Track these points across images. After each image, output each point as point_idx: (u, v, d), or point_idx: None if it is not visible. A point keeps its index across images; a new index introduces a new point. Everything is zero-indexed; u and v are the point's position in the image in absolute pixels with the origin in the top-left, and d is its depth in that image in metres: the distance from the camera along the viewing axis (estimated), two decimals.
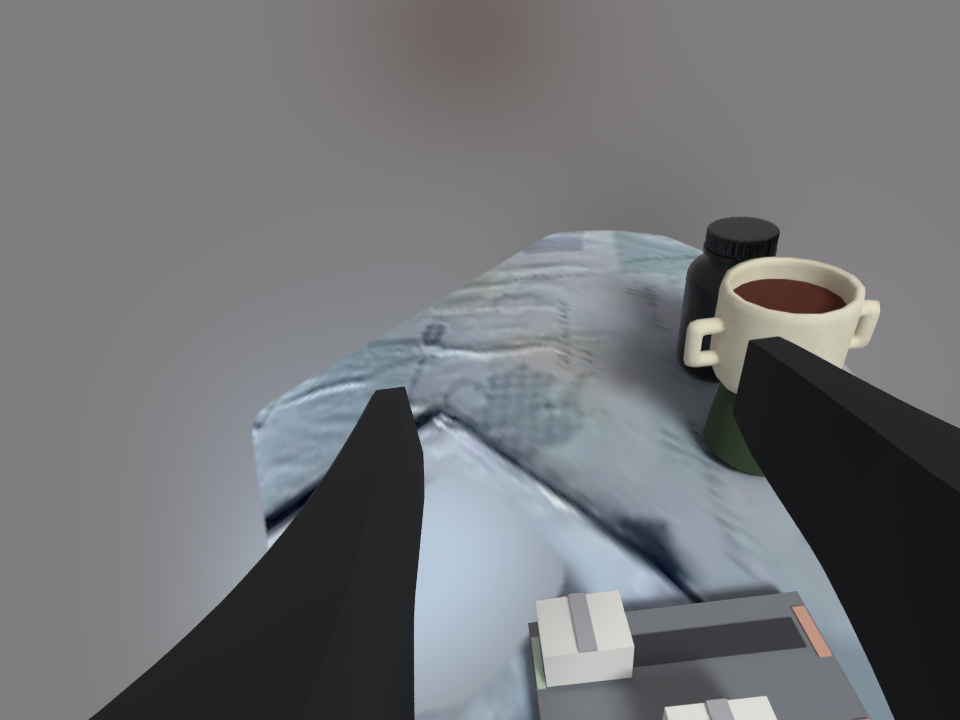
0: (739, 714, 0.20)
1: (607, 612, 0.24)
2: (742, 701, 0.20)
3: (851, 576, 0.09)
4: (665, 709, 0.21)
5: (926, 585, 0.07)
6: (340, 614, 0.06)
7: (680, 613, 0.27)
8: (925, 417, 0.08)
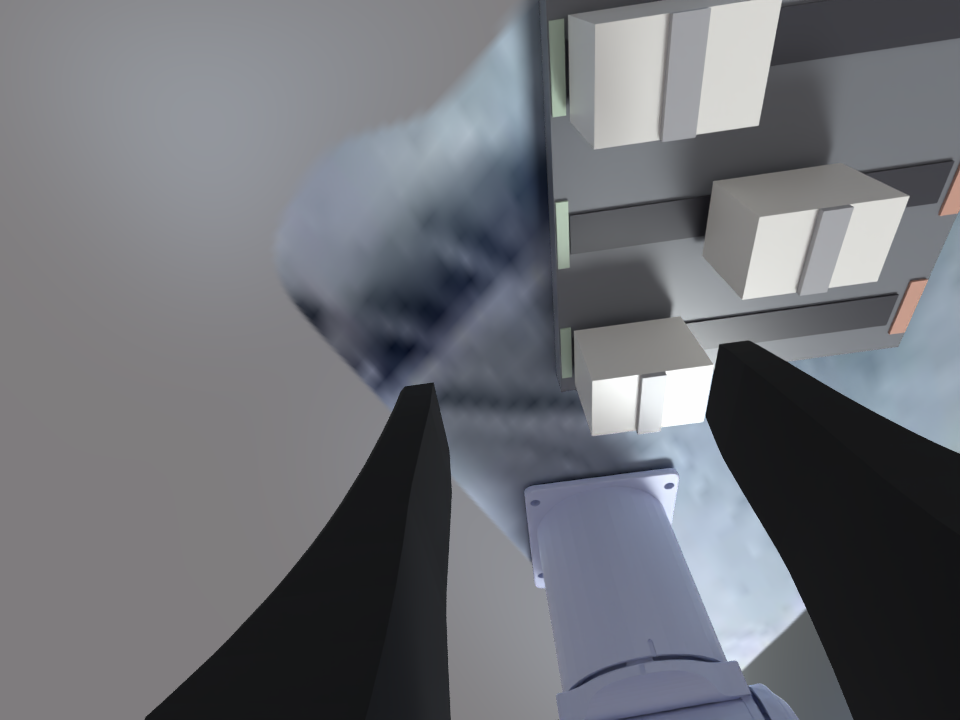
0: (854, 221, 0.14)
1: (738, 54, 0.12)
2: (871, 204, 0.14)
3: (814, 580, 0.09)
4: (758, 218, 0.14)
5: (881, 590, 0.07)
6: (392, 608, 0.06)
7: None
8: (884, 422, 0.08)
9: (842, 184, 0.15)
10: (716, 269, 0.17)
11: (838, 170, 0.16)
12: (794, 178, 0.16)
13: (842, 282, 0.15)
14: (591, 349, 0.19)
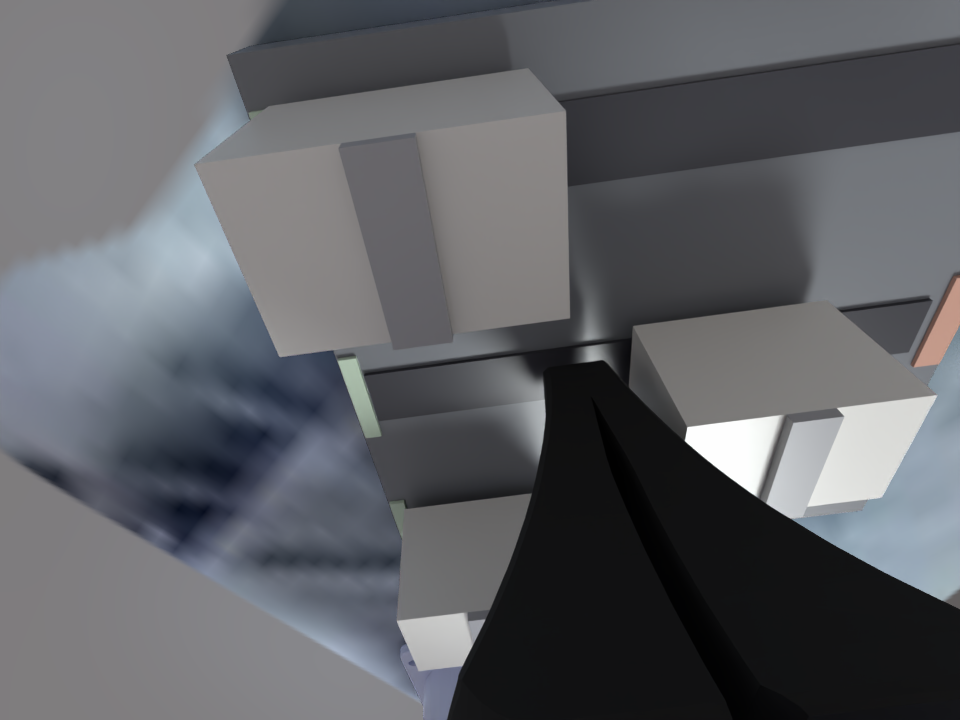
0: (846, 428, 0.09)
1: (502, 211, 0.06)
2: (873, 407, 0.08)
3: None
4: (686, 426, 0.09)
5: None
6: (656, 575, 0.06)
7: (741, 12, 0.08)
8: (683, 448, 0.08)
9: (827, 353, 0.09)
10: None
11: (822, 316, 0.10)
12: (754, 331, 0.10)
13: (826, 500, 0.10)
14: (415, 550, 0.13)
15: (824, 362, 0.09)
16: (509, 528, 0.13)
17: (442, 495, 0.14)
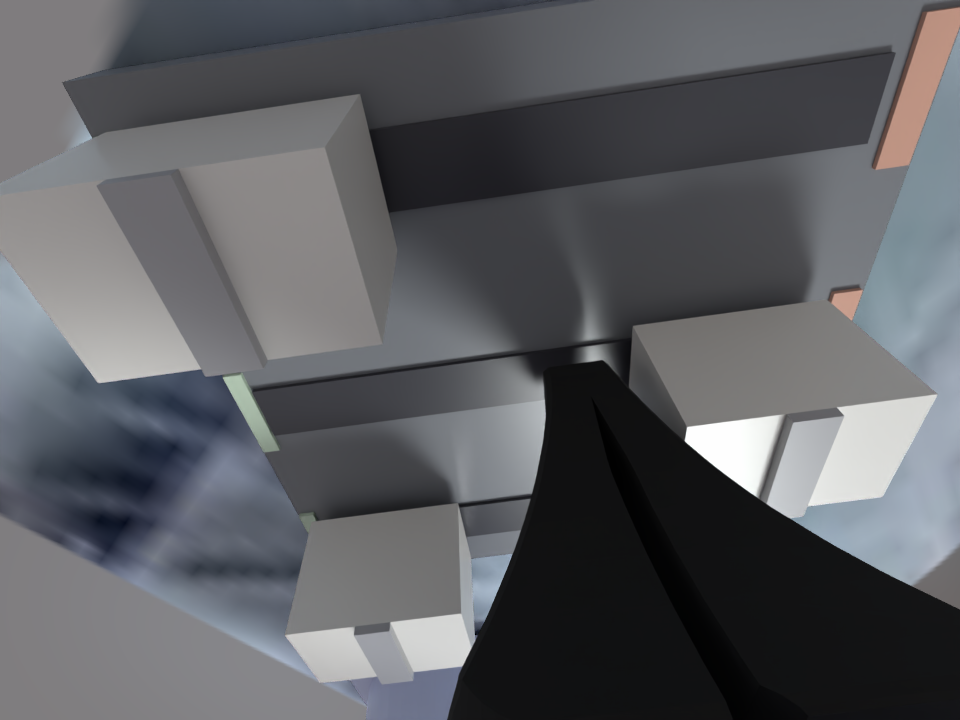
0: (846, 427, 0.09)
1: (286, 243, 0.06)
2: (873, 407, 0.08)
3: None
4: (686, 426, 0.09)
5: None
6: (656, 575, 0.06)
7: (572, 37, 0.08)
8: (683, 448, 0.08)
9: (827, 352, 0.09)
10: None
11: (822, 316, 0.10)
12: (754, 331, 0.10)
13: (826, 500, 0.10)
14: (315, 563, 0.13)
15: (824, 361, 0.09)
16: (409, 541, 0.13)
17: (351, 507, 0.14)
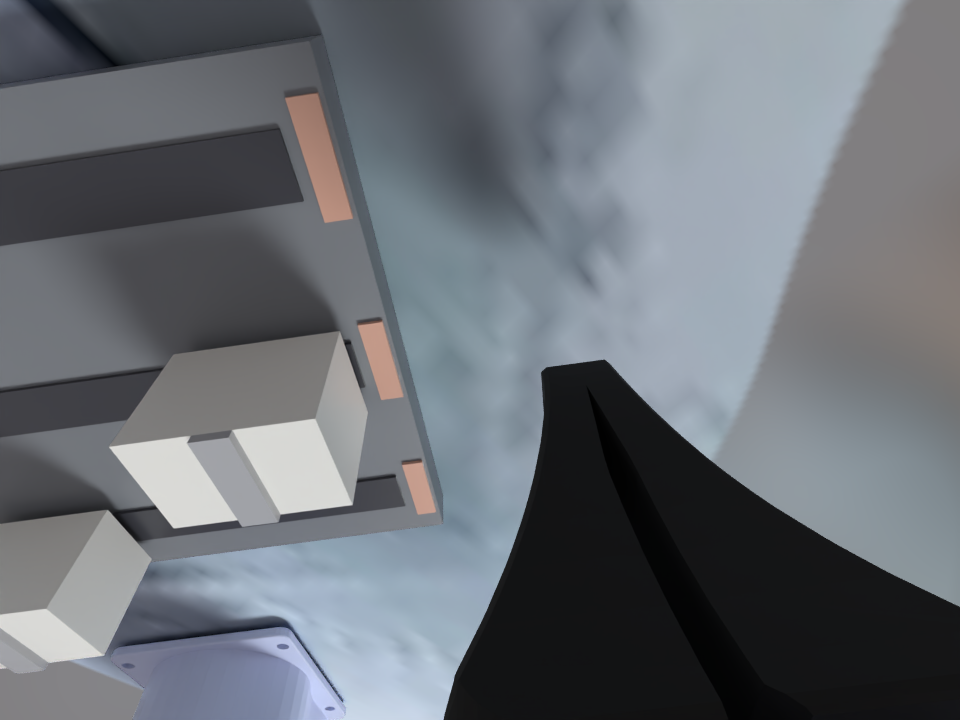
0: (258, 446, 0.10)
1: None
2: (266, 429, 0.10)
3: None
4: (113, 446, 0.10)
5: None
6: (653, 576, 0.06)
7: None
8: (685, 448, 0.08)
9: (283, 380, 0.11)
10: None
11: (318, 346, 0.12)
12: (254, 360, 0.12)
13: (302, 508, 0.11)
14: None
15: (271, 389, 0.11)
16: (46, 544, 0.15)
17: (21, 513, 0.16)
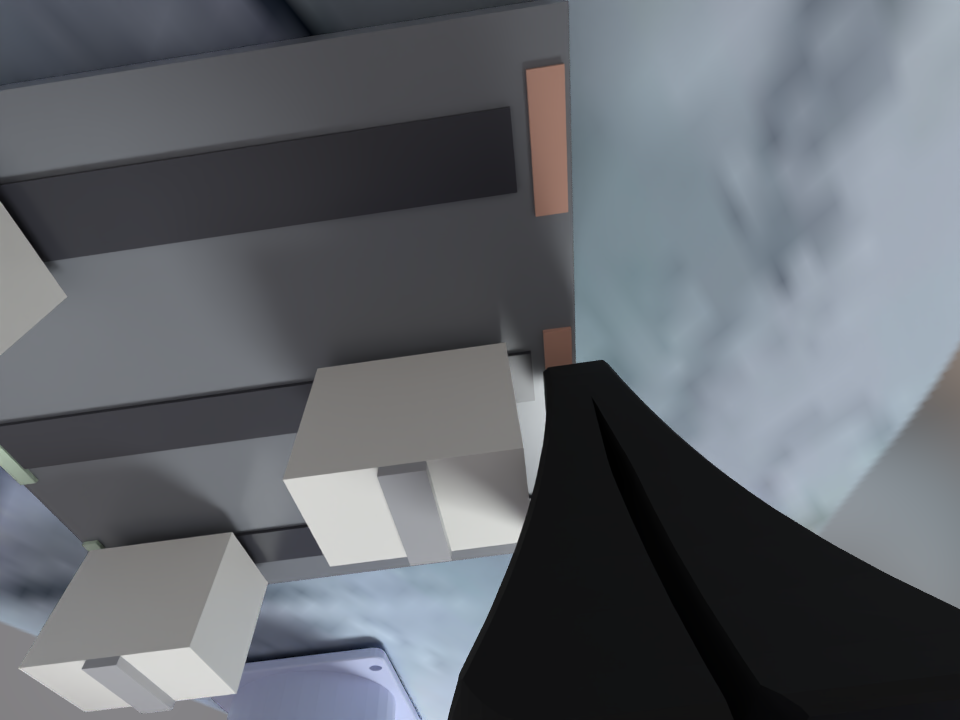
0: (449, 479, 0.09)
1: None
2: (464, 460, 0.09)
3: None
4: (285, 478, 0.09)
5: None
6: (656, 575, 0.06)
7: (177, 95, 0.08)
8: (683, 448, 0.08)
9: (462, 400, 0.10)
10: None
11: (488, 360, 0.10)
12: (417, 376, 0.10)
13: (477, 543, 0.10)
14: (75, 594, 0.13)
15: (452, 410, 0.09)
16: (171, 571, 0.13)
17: (134, 535, 0.15)
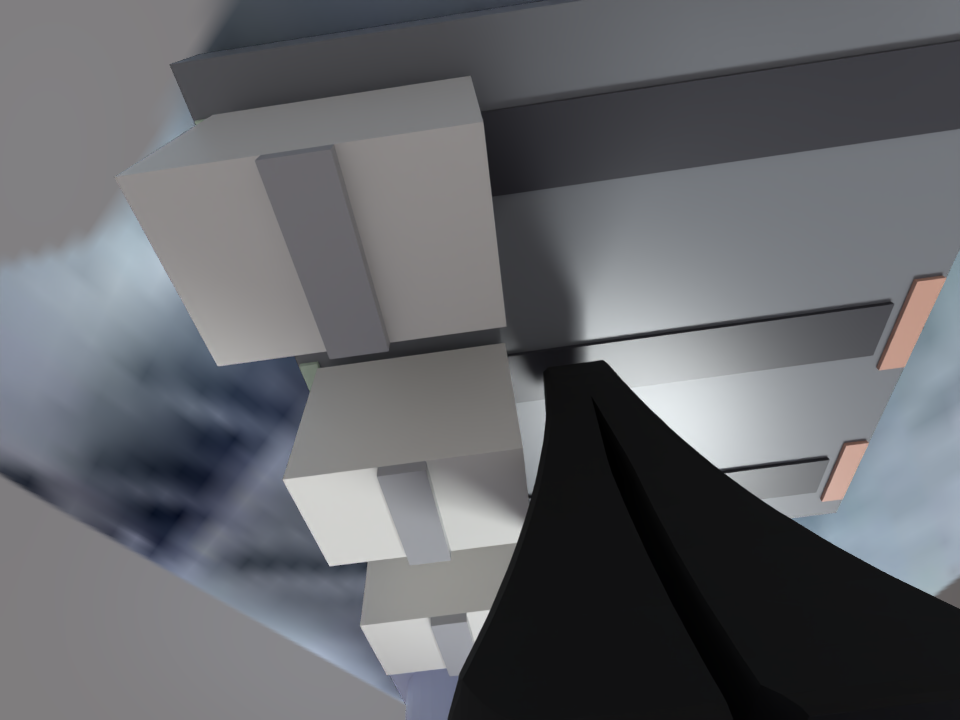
0: (449, 479, 0.09)
1: (428, 221, 0.06)
2: (464, 460, 0.09)
3: None
4: (285, 478, 0.09)
5: None
6: (656, 575, 0.06)
7: (684, 18, 0.08)
8: (683, 448, 0.08)
9: (462, 400, 0.10)
10: None
11: (487, 360, 0.10)
12: (417, 376, 0.10)
13: (476, 544, 0.10)
14: None
15: (452, 411, 0.09)
16: None
17: None
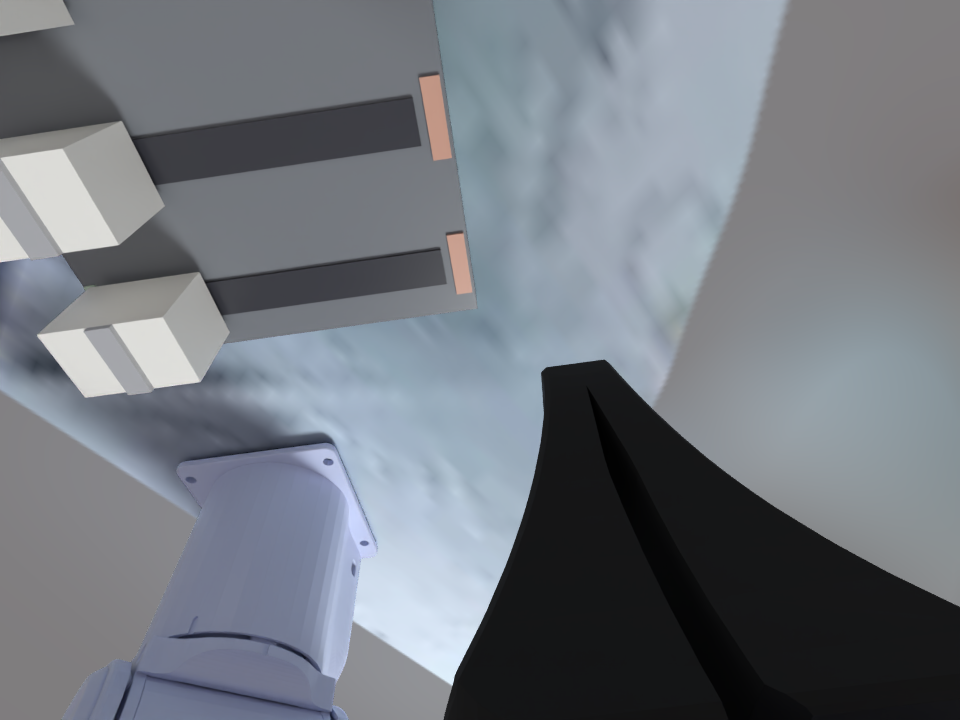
0: (25, 176, 0.13)
1: None
2: (26, 158, 0.13)
3: None
4: None
5: None
6: (653, 576, 0.06)
7: None
8: (685, 448, 0.08)
9: (57, 140, 0.14)
10: None
11: (98, 127, 0.15)
12: (46, 136, 0.15)
13: (79, 246, 0.14)
14: (78, 304, 0.17)
15: (45, 143, 0.14)
16: (151, 290, 0.18)
17: (124, 281, 0.19)
